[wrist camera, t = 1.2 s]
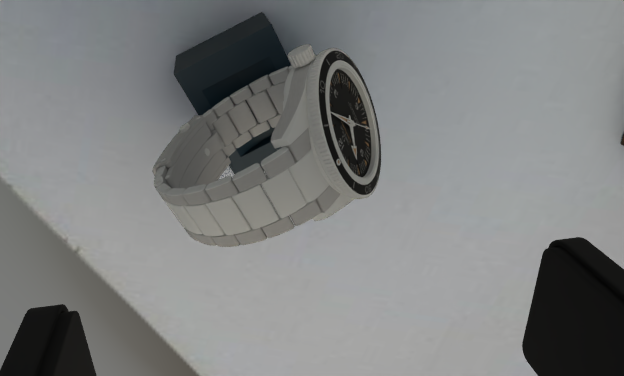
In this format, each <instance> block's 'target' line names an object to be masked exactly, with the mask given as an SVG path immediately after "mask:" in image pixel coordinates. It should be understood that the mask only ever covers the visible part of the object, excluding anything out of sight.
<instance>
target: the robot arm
mask: <svg viewBox="0 0 624 376" xmlns="http://www.w3.org/2000/svg"><path fill="white" fill-rule="evenodd" d="M522 347H523V353H524V356H525V358H526V360H527V362H528V363H529V364H530V366H531V367H532V368H533V370H534V371H535V372H536V373H537V375H538V376H624V269H622V268H621V267H620V266H619V265H617V264H616V263H615V262H614V261H612V260H611V259H610V258H609V257H607V256H606V255H605V254H604V253H602V252H601V251H600V250H599V249H597V248H596V247H595V246H594V245H592V244H591V243H590V242H589V241H587V240H586V239H584V238H580V237H577V238H569V239H562V240H555V241H553V242H552V243H551V244H550V245H549V248H548V249H546V250H545V251H544V252H543V255H542V259H541V264H540V268H539V273H538V277H537V281H536V286H535V290H534V295H533V299H532V304H531V308H530V312H529V317H528V321H527V326H526V330H525V334H524V339H523V344H522ZM0 376H96V373H95V369H94V366H93V362H92V358H91V355H90V351H89V348H88V344H87V340H86V337H85V333H84V330H83V326H82V323H81V319H80V316H79V313H78V312H77V311H70V312H68V309H67V307H66V306H65V305H63V304H62V305H55V306H46V307H38V308H31V309H29V310H28V311H27V313H26V314H25V317H24V319H23V321H22V323H21V325H20V328H19V330H18V332H17V334H16V336H15V339H14V341H13V343H12V345H11V348H10V350H9V352H8V354H7V356H6V359H5V361H4V363H3V365H2V368H1V370H0Z"/></svg>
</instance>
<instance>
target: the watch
mask: <svg viewBox="0 0 624 376" xmlns="http://www.w3.org/2000/svg"><path fill="white" fill-rule="evenodd" d="M288 58H289V60H290V62H291V64H292V65H291V64H290V62H289V60H288ZM288 58H287V56H286V54H285V52H284V50H283V47H282V45H281V43H280V41H279V39H278V37H277V35H276V33H275V31H274V28H273V26H272V24H271V23H270V22H269V20H268V19H267V18H266V16H265V15H264V14H263V12H261V13H259V14H257V15H255V16H253V17H251V18H250V19H248V20H246V21H244V22H242V23H240V24H238V25H236V26H234V27H232V28H230V29H228V30H226V31H224V32H222V33H220V34H218V35H216V36H214V37H212V38H211V39H209V40H207V41H205V42H203V43H201V44H199V45H197V46H195V47H193V48H191V49H189V50H187V51H185V52H183V53H181V54H179V55H177V56H176V62H175V69H174V75H175V77H176V79H177V80H178V82H179V84H180V85H181V87H182V88H183V90H184V92H185V93H186V95H187V97H188V98H189V100H190V102H191V103H192V105H193V107H194V108H195V110H196V112H197V113H198V115H199V116H197V115H195V116H194V117H193V118H192V119H191V120H190V121H189V122H188V123H185V124H184V125H182V126H181V127H180V129H179V133H178V134H177V135H176V136H175V137H174V138H173V139H172V141H171V142H170V143H169V144H168V146H167V147H166V148H165V150H164V151H163V153H162V154H161V156H160V157H159V159H158V160H157V162H156V164H155V165H154V167H153V170H152V171H153V173H154V176H155V177H154V179H155V180H154V186H155V188H156V190H157V191H158V192H159V194H160V195H161V196H162V198H163V200H164V201H165V202H166V204H167V205H168V207H169V208H170V209H171V211H172V212H173V214H174V215H175V216H176V218H177V219H178V220H179V222H180V223H181V225H182V226H183V227H184V229H185V230H186V231H187V233H188V234H189V235H190V236H191V237H192V238H193V239H195V240H196V241H199V242H201V243H204V244H207V245H213V246H215V245H217V246H220V247H232V246H239V245H240V244H241V245H246V244H251V243H256V242H260V241H263V240H266V239H267V237H268V238H271V237H274V236H277V235H280V234H282V233H285V232H287V231H289V230H291V229H293V228H294V227H295V226H299V225H301V224H303V223H305V222H307V221H309V220H311V219H312V218H313V220H314V221H318V220H324V219H326V218H328V217H329V216H331V215H332V214H334V213H336V212H337V211H339V210H340V209H342V208H343V207H344V206H346V205H347V204H348V203H350V202H351V201H353V200H354V199H362V198H367V197H369V196H370V195H371V194H372V193H373V192H374V190H375V188H376V186H377V183H378V180H379V175H380V167H381V144H380V134H379V128H378V122H377V118H376V113H375V110H374V106H373V103H372V99H371V96H370V94H369V91H368V88H367V86H366V84H365V82H364V79H363V77H362V75H361V74H360V72H359V70H358V68H357V67H356V65H355V64H354V62H353V61H352V60H351V59H350V57H349V56H348V55H347V54H345V52H343V51H342V50H340V49H337V48H330V49H327V50H324V51H322V52H320V54H318V55H315V54H314V52H313V50H312V47H311V45H310V44H305V45H302V46H299V47H297V48H295V49H294V50H292V51H291V52H290V53H289V54H288ZM228 166H230V168H231V169H232V171H233V173H234V174H235V175H234V176H233V178H232V177H231V176H228V177H225V178H223V179H220V180H218V179H219V178H220V176H221V175H222V173H223V172H224V171H225V169H226V168H227V167H228ZM264 171H265V173H266V175H265V173H264ZM262 187H263V188H262ZM263 189H264V190H263ZM265 192H266V193H265ZM266 194H267V195H266ZM269 199H270V200H269ZM270 201H271V202H270ZM272 204H273V205H272ZM273 206H274V207H273ZM276 211H277V212H276ZM277 213H278V214H277ZM289 215H290V217H291V219H292V221H293V222H294V224H295V226H294V224H293V222H292V221H291V219H290V217H289Z"/></svg>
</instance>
